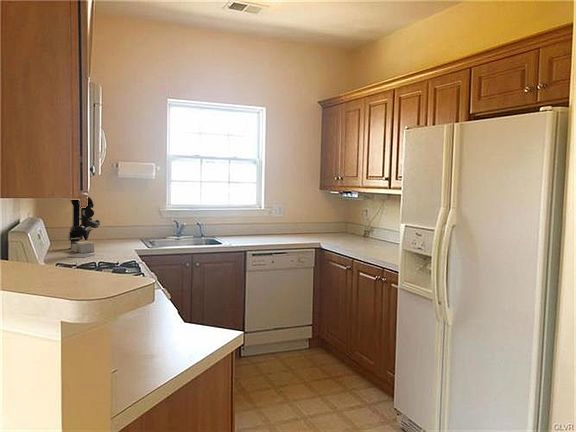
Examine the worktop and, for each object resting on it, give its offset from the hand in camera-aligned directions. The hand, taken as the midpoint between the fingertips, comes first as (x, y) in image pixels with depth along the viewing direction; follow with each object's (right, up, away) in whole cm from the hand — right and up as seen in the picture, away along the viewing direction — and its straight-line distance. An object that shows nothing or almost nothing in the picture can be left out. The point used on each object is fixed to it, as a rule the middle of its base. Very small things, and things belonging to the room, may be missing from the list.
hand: (86, 240), depth 318 cm
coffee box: (-2, -6, +7) cm, 10 cm away
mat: (-1, -10, -5) cm, 11 cm away
